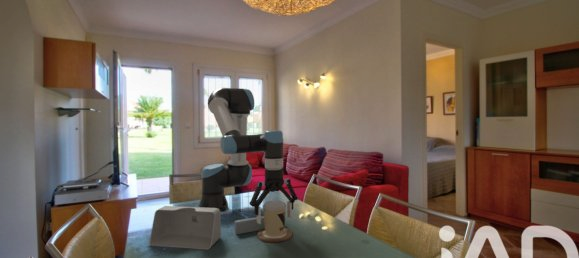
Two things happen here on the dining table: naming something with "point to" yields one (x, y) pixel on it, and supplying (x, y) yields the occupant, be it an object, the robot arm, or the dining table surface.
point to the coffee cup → (274, 218)
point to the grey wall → (248, 225)
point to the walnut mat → (266, 238)
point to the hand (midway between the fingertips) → (274, 220)
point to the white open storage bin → (186, 227)
